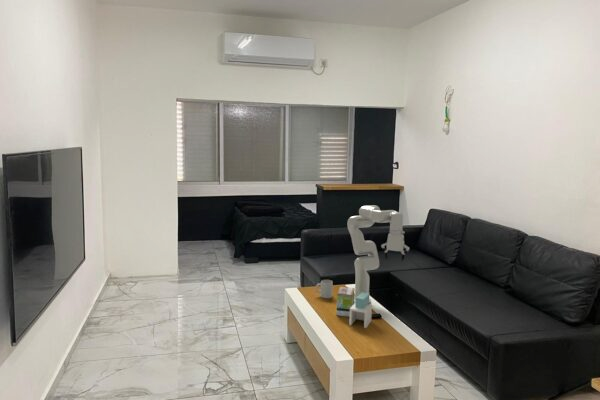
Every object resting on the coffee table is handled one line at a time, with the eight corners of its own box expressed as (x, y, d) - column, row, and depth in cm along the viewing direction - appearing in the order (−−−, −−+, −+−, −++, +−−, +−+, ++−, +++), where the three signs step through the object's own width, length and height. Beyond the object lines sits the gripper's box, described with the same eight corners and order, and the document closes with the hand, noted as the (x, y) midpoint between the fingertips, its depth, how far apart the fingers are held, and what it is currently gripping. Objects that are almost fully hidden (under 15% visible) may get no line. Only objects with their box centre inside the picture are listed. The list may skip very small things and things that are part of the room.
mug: (331, 294, 333) (331, 279, 332) (333, 298, 325) (333, 283, 324) (314, 294, 332) (315, 279, 331) (316, 298, 324) (316, 283, 322)
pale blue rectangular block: (361, 301, 290) (361, 292, 289) (369, 302, 288) (369, 293, 287) (355, 307, 279) (355, 297, 278) (363, 308, 277) (363, 299, 276)
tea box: (351, 317, 291) (352, 294, 289) (336, 315, 293) (336, 293, 291) (353, 308, 306) (354, 287, 304) (338, 307, 308) (339, 285, 306)
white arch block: (355, 318, 290) (355, 302, 288) (371, 321, 286) (371, 304, 284) (349, 324, 279) (349, 308, 277) (365, 328, 275) (366, 311, 273)
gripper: (411, 232, 282) (409, 259, 284) (383, 229, 289) (382, 256, 291) (409, 234, 275) (407, 262, 278) (380, 232, 282) (379, 259, 284)
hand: (394, 259), depth 284 cm, fingers open, 9 cm apart
